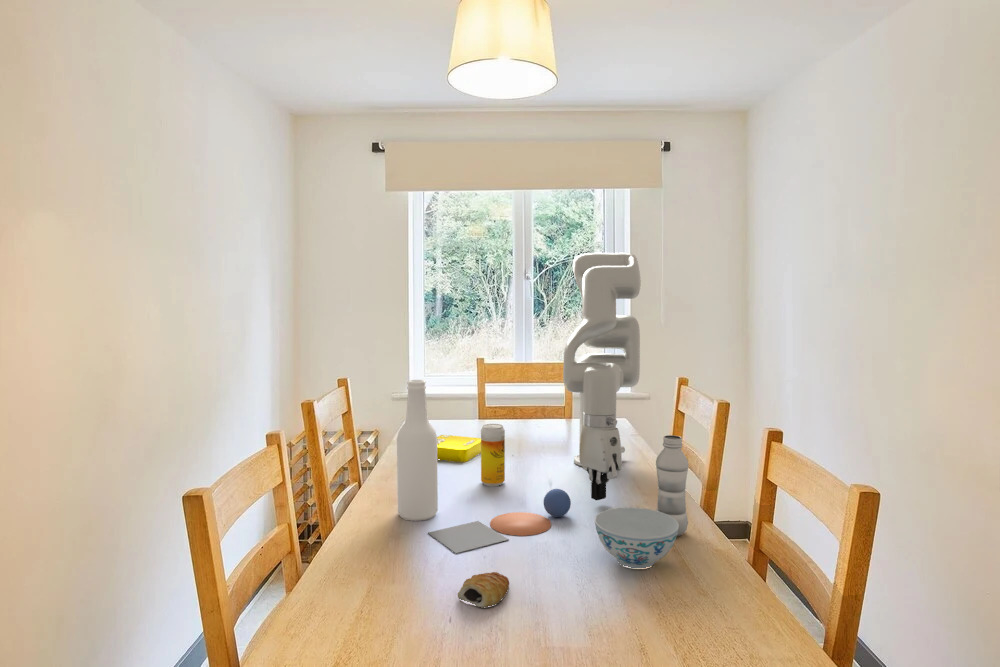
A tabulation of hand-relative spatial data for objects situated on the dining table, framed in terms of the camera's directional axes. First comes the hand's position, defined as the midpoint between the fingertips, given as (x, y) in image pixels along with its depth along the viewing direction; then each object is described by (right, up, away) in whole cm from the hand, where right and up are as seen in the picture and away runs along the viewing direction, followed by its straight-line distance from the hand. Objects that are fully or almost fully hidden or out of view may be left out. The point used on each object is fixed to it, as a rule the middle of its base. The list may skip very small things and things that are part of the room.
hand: (598, 498), depth 147 cm
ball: (-10, +1, -7) cm, 13 cm away
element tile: (-37, +1, +45) cm, 58 cm away
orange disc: (-19, -2, -12) cm, 22 cm away
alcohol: (-41, -2, -6) cm, 42 cm away
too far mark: (-29, -3, -19) cm, 35 cm away
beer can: (-25, -1, +16) cm, 30 cm away
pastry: (-26, -5, -43) cm, 51 cm away
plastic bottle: (+12, -3, -17) cm, 21 cm away
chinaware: (+2, -4, -31) cm, 31 cm away
